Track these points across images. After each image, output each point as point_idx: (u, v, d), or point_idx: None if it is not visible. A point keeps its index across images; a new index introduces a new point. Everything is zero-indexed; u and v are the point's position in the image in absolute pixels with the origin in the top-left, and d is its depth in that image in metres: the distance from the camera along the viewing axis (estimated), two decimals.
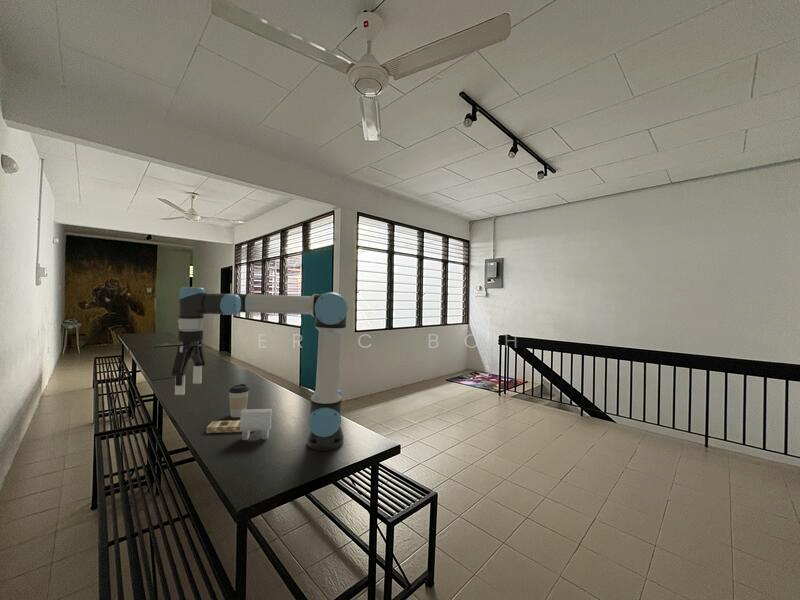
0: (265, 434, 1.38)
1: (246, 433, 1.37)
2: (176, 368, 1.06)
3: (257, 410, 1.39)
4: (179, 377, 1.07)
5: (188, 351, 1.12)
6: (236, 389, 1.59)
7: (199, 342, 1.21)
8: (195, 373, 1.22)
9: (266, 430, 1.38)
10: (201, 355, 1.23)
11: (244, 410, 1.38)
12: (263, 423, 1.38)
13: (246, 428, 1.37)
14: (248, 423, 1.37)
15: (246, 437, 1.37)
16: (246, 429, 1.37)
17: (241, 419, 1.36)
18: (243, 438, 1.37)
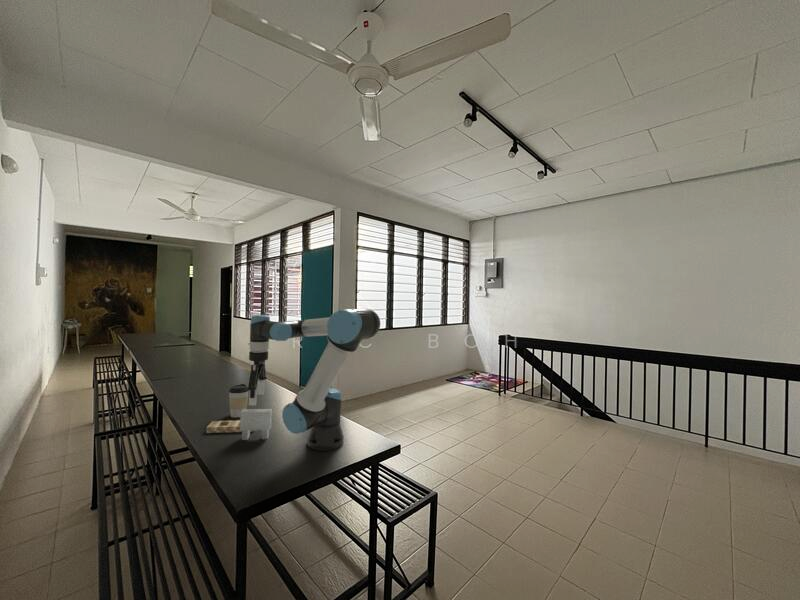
0: (265, 434, 1.38)
1: (246, 433, 1.37)
2: (251, 384, 1.29)
3: (257, 410, 1.39)
4: (253, 391, 1.30)
5: (258, 369, 1.35)
6: (236, 389, 1.59)
7: (263, 360, 1.44)
8: (259, 386, 1.45)
9: (266, 430, 1.38)
10: (264, 371, 1.46)
11: (244, 410, 1.38)
12: (263, 423, 1.38)
13: (246, 428, 1.37)
14: (248, 423, 1.37)
15: (246, 437, 1.37)
16: (246, 429, 1.37)
17: (241, 419, 1.36)
18: (243, 438, 1.37)
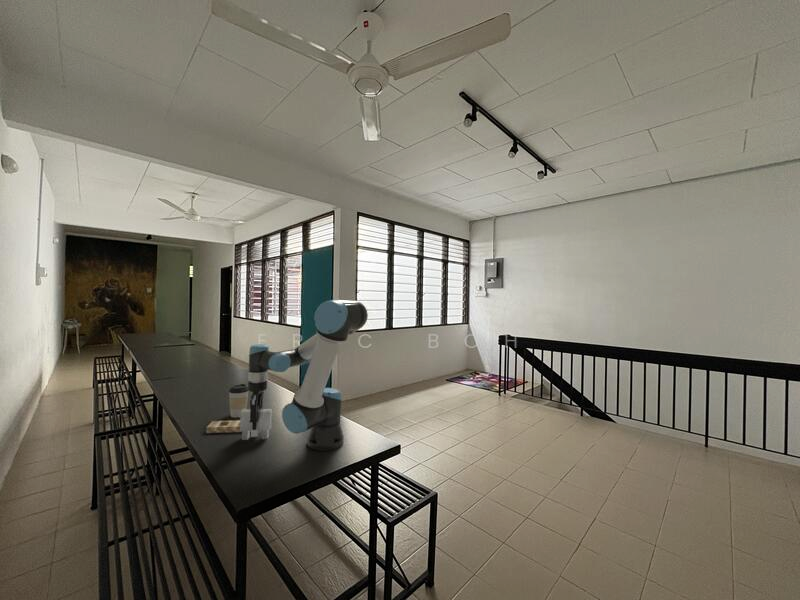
0: (265, 434, 1.38)
1: (246, 433, 1.37)
2: (252, 417, 1.33)
3: None
4: (255, 423, 1.35)
5: None
6: (236, 389, 1.59)
7: (262, 392, 1.44)
8: None
9: (266, 430, 1.38)
10: (261, 405, 1.43)
11: (244, 410, 1.38)
12: (263, 423, 1.38)
13: (246, 428, 1.37)
14: (248, 423, 1.37)
15: (246, 437, 1.37)
16: (246, 429, 1.37)
17: (241, 419, 1.36)
18: (243, 438, 1.37)
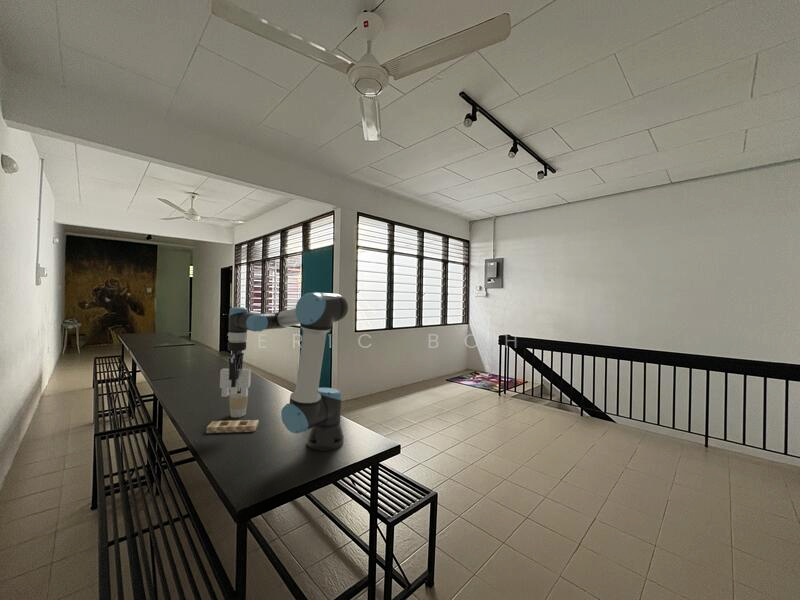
0: (244, 392, 1.45)
1: (225, 390, 1.44)
2: (231, 375, 1.41)
3: None
4: (234, 381, 1.43)
5: None
6: None
7: (242, 353, 1.51)
8: None
9: (245, 388, 1.45)
10: (241, 365, 1.50)
11: (224, 369, 1.46)
12: (242, 382, 1.45)
13: (225, 386, 1.44)
14: (227, 381, 1.44)
15: (225, 394, 1.44)
16: (225, 386, 1.44)
17: (221, 377, 1.43)
18: (223, 395, 1.44)
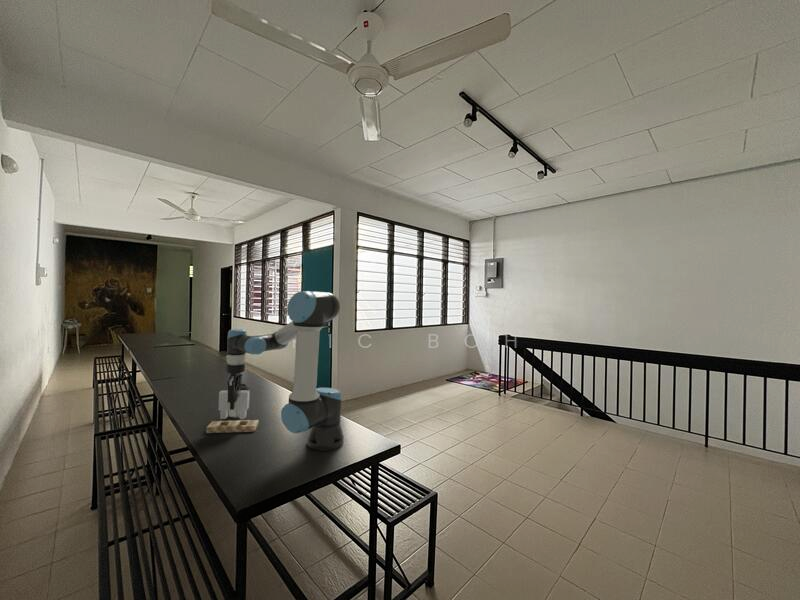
0: (242, 414, 1.46)
1: (224, 413, 1.44)
2: (230, 397, 1.41)
3: None
4: (232, 403, 1.43)
5: None
6: None
7: (240, 375, 1.52)
8: None
9: (243, 410, 1.46)
10: None
11: (222, 391, 1.46)
12: (240, 404, 1.45)
13: (224, 408, 1.44)
14: (226, 403, 1.44)
15: (224, 416, 1.44)
16: (224, 409, 1.44)
17: (219, 399, 1.44)
18: (221, 417, 1.44)
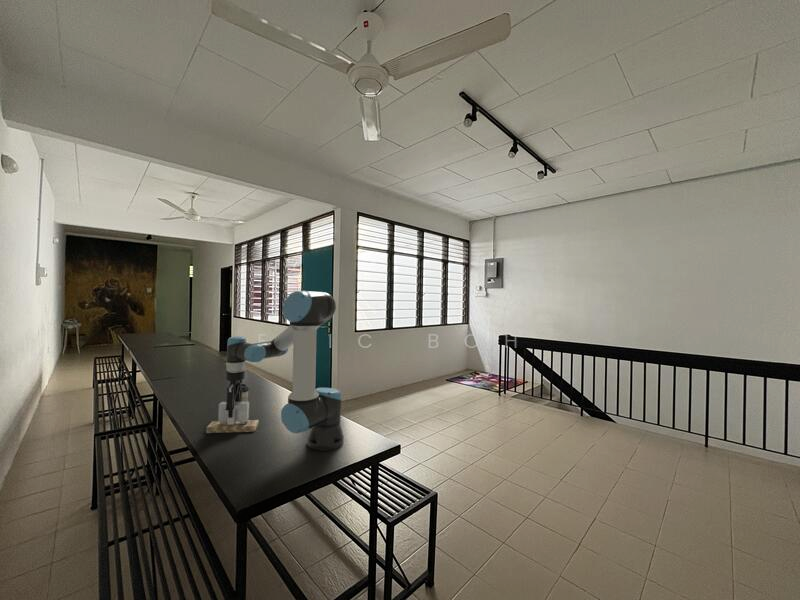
0: None
1: (224, 424, 1.44)
2: (228, 405, 1.39)
3: (235, 403, 1.46)
4: (231, 411, 1.41)
5: (234, 388, 1.44)
6: None
7: (240, 381, 1.52)
8: None
9: (243, 421, 1.46)
10: (240, 392, 1.52)
11: (222, 402, 1.46)
12: (240, 415, 1.45)
13: (224, 419, 1.44)
14: (226, 415, 1.44)
15: None
16: (224, 420, 1.44)
17: (219, 411, 1.44)
18: None
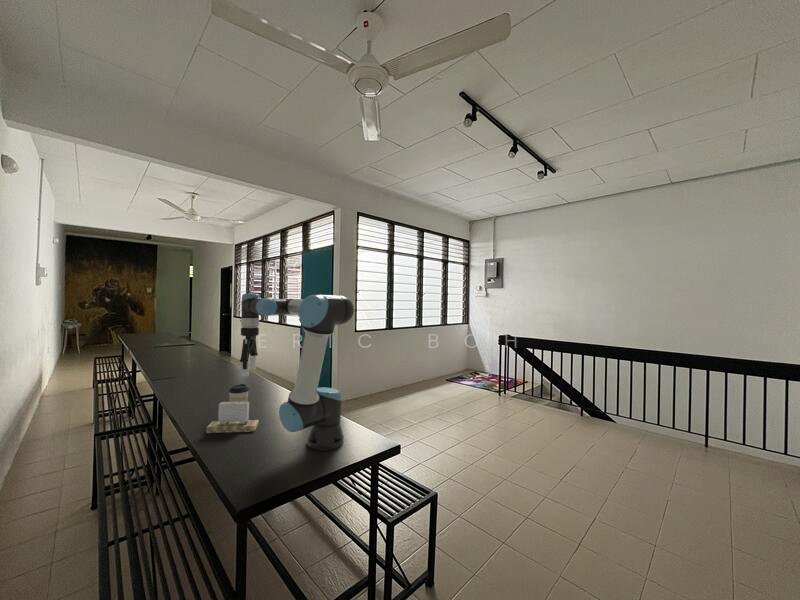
0: None
1: (224, 424, 1.44)
2: (243, 355, 1.39)
3: (235, 403, 1.46)
4: (245, 362, 1.40)
5: (249, 343, 1.45)
6: (236, 389, 1.59)
7: (254, 337, 1.54)
8: (251, 361, 1.54)
9: (243, 421, 1.46)
10: (255, 347, 1.56)
11: (222, 402, 1.46)
12: (240, 415, 1.45)
13: (224, 419, 1.44)
14: (226, 415, 1.44)
15: None
16: (224, 420, 1.44)
17: (219, 411, 1.44)
18: None
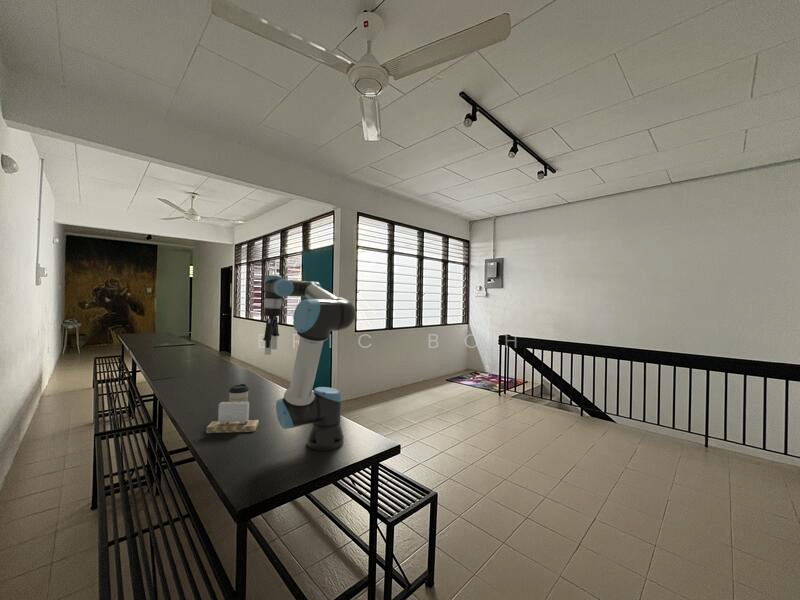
0: None
1: (224, 424, 1.44)
2: (267, 334, 1.44)
3: (235, 403, 1.46)
4: (268, 341, 1.45)
5: (272, 323, 1.50)
6: (236, 389, 1.59)
7: (276, 318, 1.59)
8: (272, 341, 1.60)
9: (243, 421, 1.46)
10: (277, 328, 1.61)
11: (222, 402, 1.46)
12: (240, 415, 1.45)
13: (224, 419, 1.44)
14: (226, 415, 1.44)
15: None
16: (224, 420, 1.44)
17: (219, 411, 1.44)
18: None
